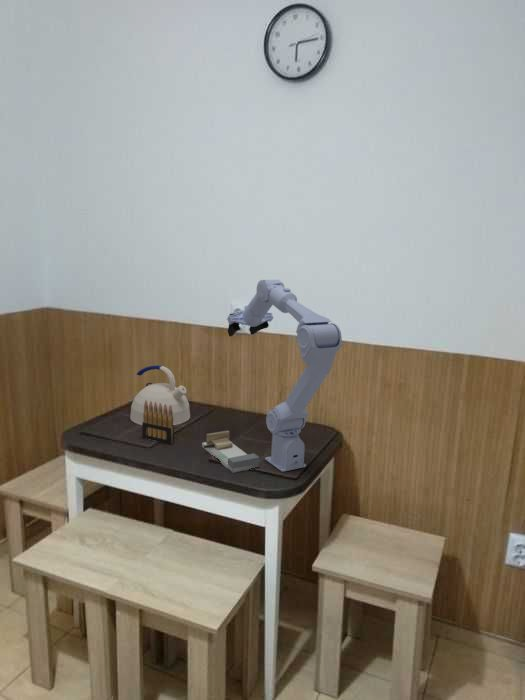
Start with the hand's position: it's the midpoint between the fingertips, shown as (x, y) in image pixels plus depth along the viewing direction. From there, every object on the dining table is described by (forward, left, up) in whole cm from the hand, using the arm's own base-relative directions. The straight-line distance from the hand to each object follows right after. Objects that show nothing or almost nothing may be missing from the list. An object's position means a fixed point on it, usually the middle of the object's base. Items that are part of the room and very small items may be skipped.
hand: (240, 332), depth 167 cm
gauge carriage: (-12, +13, -30) cm, 35 cm away
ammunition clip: (+2, +26, -32) cm, 41 cm away
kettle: (+22, +18, -32) cm, 43 cm away
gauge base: (-18, +12, -32) cm, 38 cm away
